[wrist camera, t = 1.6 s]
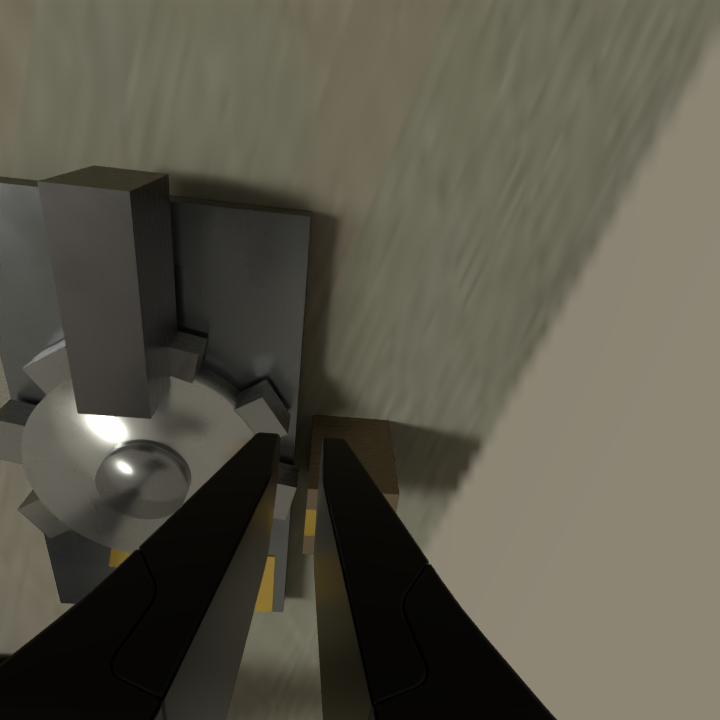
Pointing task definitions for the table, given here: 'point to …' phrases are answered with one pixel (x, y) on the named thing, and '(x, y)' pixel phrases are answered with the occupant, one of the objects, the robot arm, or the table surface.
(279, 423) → the sprocket
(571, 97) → the table surface
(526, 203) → the table surface
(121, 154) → the table surface
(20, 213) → the base plate
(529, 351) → the table surface
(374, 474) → the striped gift box
